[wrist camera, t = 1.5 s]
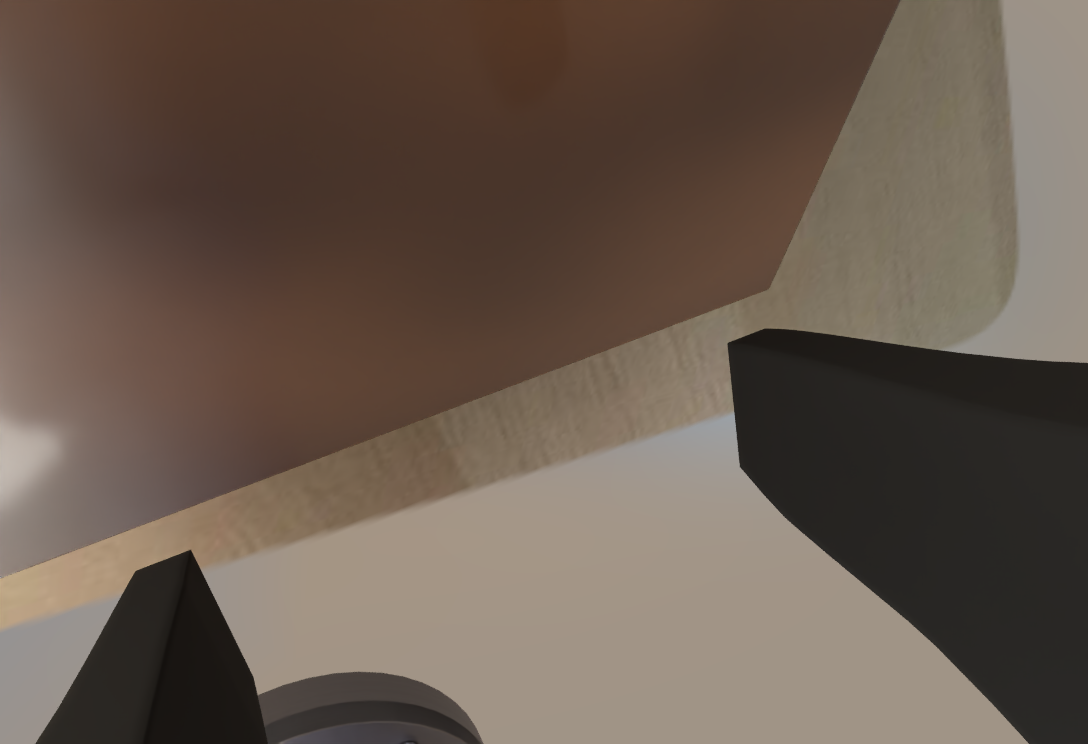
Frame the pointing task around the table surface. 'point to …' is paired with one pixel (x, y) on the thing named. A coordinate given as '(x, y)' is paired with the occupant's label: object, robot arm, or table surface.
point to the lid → (367, 218)
